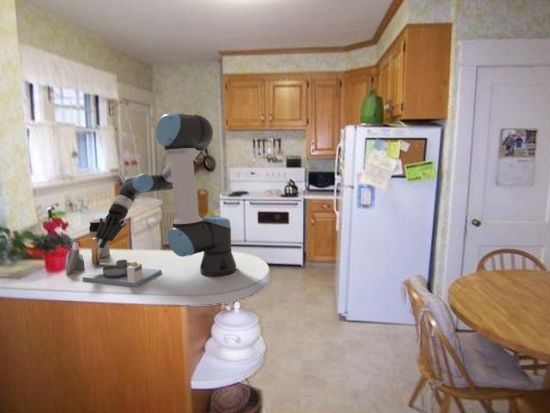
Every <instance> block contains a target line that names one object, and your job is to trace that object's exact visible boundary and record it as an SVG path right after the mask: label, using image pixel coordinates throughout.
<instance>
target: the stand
mask: <svg viewBox="0 0 550 413" xmlns="http://www.w3.org/2000/svg"><path fill="white" fill-rule="evenodd" d="M130 263H131V266H129V267H127V276H124V277H117V278H108V277H105V276H103V268H99V269H98V270H96V271H93V272H91V273H89V274H87V275H84V276H82V281H83V282H88V283H89V282H90V283H92V282H93V283H98V284H99V283H101V284H108V285H118V286H125V287H134V288H138V287H140V286H142V285H143V284H145V283H147V282H148V281H150V280H153V279H155V277H158V276H159V275H161V274H162V272H163V270H162V269H160V268H159V269H157V268H156V269H155V268H147V267H143V264H142V263H138V262H137V261H133V262H130Z"/></svg>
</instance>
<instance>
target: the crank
mask: <svg viewBox="0 0 550 413" xmlns="http://www.w3.org/2000/svg"><path fill="white" fill-rule="evenodd" d="M89 239H90V240H89V241H90V250H91V259H92V260H91V261H92V265H93V266H94V268H96V269H98V268H99V269H102V268H103V276H105V277H108V278H117V277H124V276H127V267H129V266H131V263H132V262H128V260H127V259H118V260H116V263H115V262H114V263H110V262H108V263H104V262H100V258H99V250H98V240H97V238H90V237H89Z"/></svg>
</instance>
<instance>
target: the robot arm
mask: <svg viewBox="0 0 550 413" xmlns="http://www.w3.org/2000/svg"><path fill="white" fill-rule="evenodd" d="M155 137H156V140H157V141H158V144H159V145H160V146H163V147H164V148H163V149H164V153H166V154H167V155H168V157H169V162H168V163H167V165H166V166H165V167H164V169H163V170H162V171H161V173H160V174H147V173H140V174H137V175H136V176H128V177H127V178H126V179H125V181H124V182H123V184H122V185H121V187H120V189H119V191H118V193H117V195H116V196H115V199H114V200H113V202H112V204H111V206H110V207H109V210H108V214H107V215H105V217H104V218H102V217H100V218H99V219H100V224H99V227H98V230H97V234H96V237H97V238H98V250H99V254H100V252H101V250H102V248H104V247H105V245H106V243H107V242H108V241H109V242H112V241H114V239H115V237H117V235H118V234H119V233H120V231H121V230H122V228H124V227H125V226H126V225H127V223H126V222H125V221H124V219H125V218H127V217H126V216H128V214H129V210H131V208H132V205H133V204H134V202H135V199H136V198H137V197H138V196H139V195H141V194H144V193H153V192H161V191H170V190H172V194H173V202H174V211H175V212H174V213H175V218H174V220H173V221H171V222H172V227H171V228H170V229H169V230H168V233H167V242H168V245H169V247H170V249H171V250H172V252H173V253H174V254H175V255H176V256H177V257H178V256H179V257H182V258H183V257H188V256H189V257H190V256H193V255H195V254H200V253H202V252H203V255H202V259H201V262H200V266H199V268H200V273H201V274H202V275H203V276H206V277H224V276H228V275H231V274H234V273H235V272H236V271H237V264H236V261H235V258H234V255H233V252H232V227H231V220H230V219H228V218H227V217H221V216H203V217H201V216H200V215H199V207H198V199H197V198H198V197H197V189H196V188H197V187H196V179H195V178H196V177H195V176H196V175H195V166H194V160H195V159H196V157H197V156H198V155H199V154H200V153H201V152H204V151H205V150H207V148H208V147H209V145H210V144H212V141H213V137H214V128H213V126H212V123H210V121H209V119H207V118H206V117H204V116H202V115H198V114H184V113H166V114H163V116H161V117H160V118H159V120H158V122H157V125H156V128H155Z"/></svg>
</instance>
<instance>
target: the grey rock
mask: <svg viewBox="0 0 550 413" xmlns="http://www.w3.org/2000/svg"><path fill="white" fill-rule="evenodd" d="M72 243H73V242H72ZM71 245H72V244H71ZM70 249H71V252H70V251H69V252H70V253H69V252H68V255H67V259H66V262H67V263H66V262H65V268H66V269H65V272H66V273H67V274H68V275H71V274H73V273H74V272H80V271H81V272H82V271H85V267H86V266H85V262H84V261H85V260H84V256H83V255H82V254H80V245H79V243H78V242H76V241H74V243H73V245H72V248H71V247H70Z"/></svg>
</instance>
